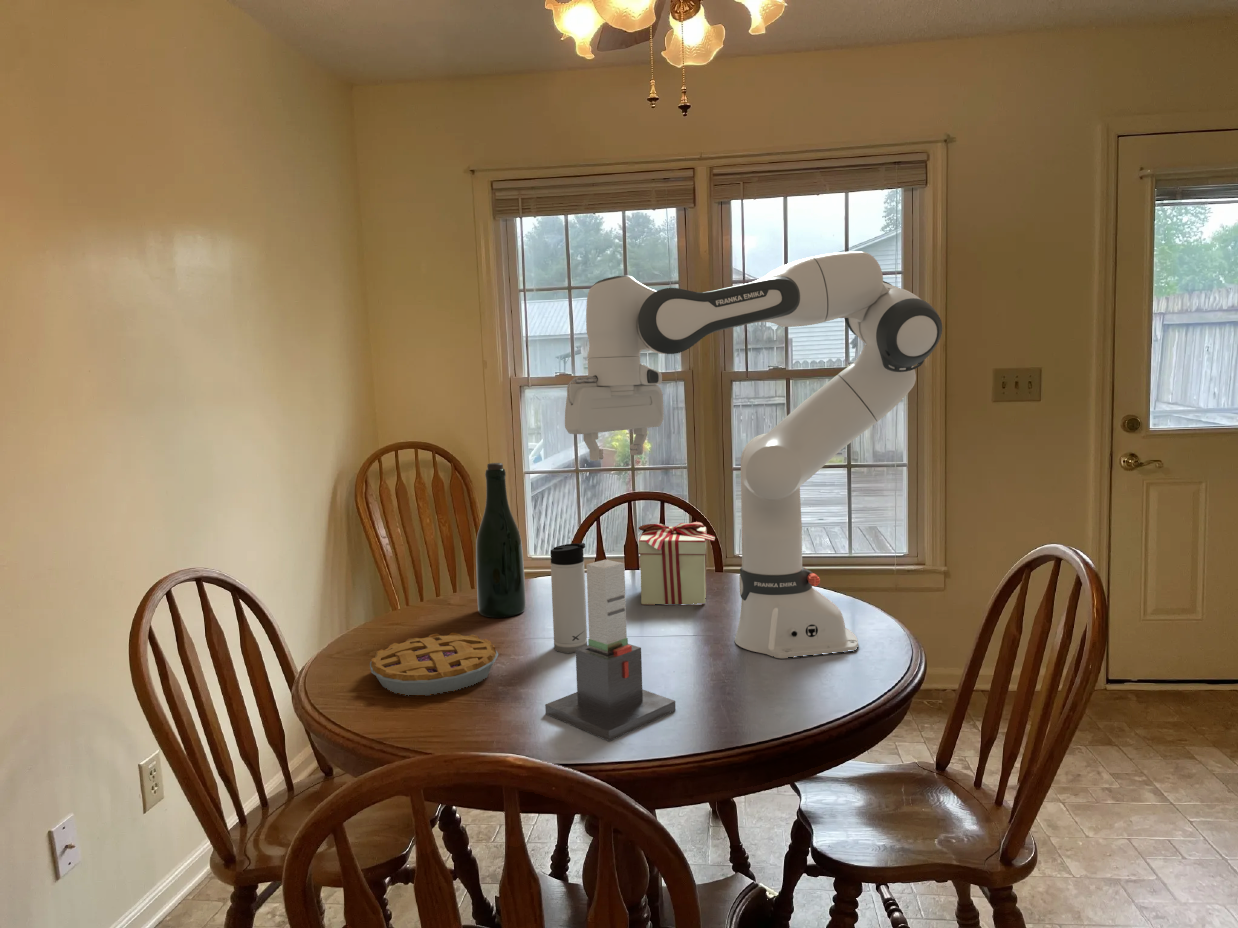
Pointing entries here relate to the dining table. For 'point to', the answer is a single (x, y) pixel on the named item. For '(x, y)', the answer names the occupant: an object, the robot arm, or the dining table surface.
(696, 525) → the gift box
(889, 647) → the dining table surface
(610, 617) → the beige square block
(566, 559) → the travel mug
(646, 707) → the grey square socket stand
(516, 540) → the green wine bottle
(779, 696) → the dining table surface
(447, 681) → the pie
